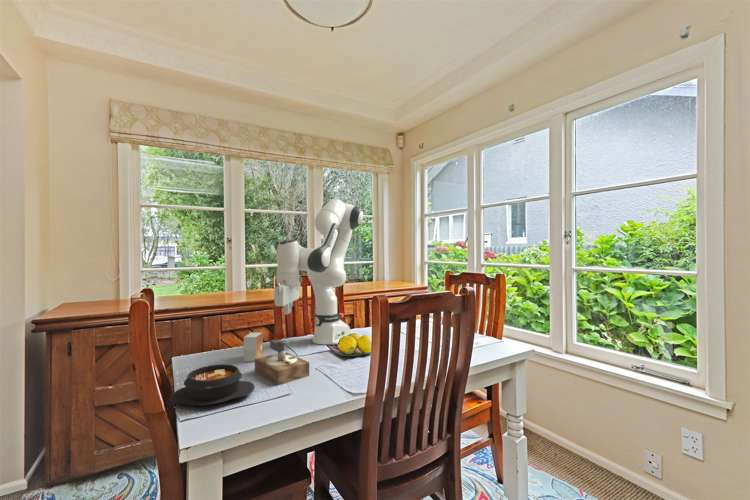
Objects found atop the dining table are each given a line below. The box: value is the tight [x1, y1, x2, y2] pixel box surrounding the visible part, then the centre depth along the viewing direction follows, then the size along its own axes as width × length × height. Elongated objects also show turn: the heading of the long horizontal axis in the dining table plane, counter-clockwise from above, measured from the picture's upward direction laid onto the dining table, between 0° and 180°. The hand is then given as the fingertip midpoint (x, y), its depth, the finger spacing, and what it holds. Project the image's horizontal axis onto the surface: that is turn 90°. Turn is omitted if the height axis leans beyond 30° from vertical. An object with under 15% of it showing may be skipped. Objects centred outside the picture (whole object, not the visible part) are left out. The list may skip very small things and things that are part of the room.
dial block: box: [254, 351, 310, 386], centre depth 132 cm, size 13×18×5 cm
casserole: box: [168, 363, 255, 406], centre depth 112 cm, size 25×19×8 cm
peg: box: [269, 339, 291, 363], centre depth 132 cm, size 13×4×7 cm, turn 45°
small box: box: [243, 332, 264, 362], centre depth 149 cm, size 8×6×10 cm
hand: (287, 313), depth 140 cm, fingers closed
